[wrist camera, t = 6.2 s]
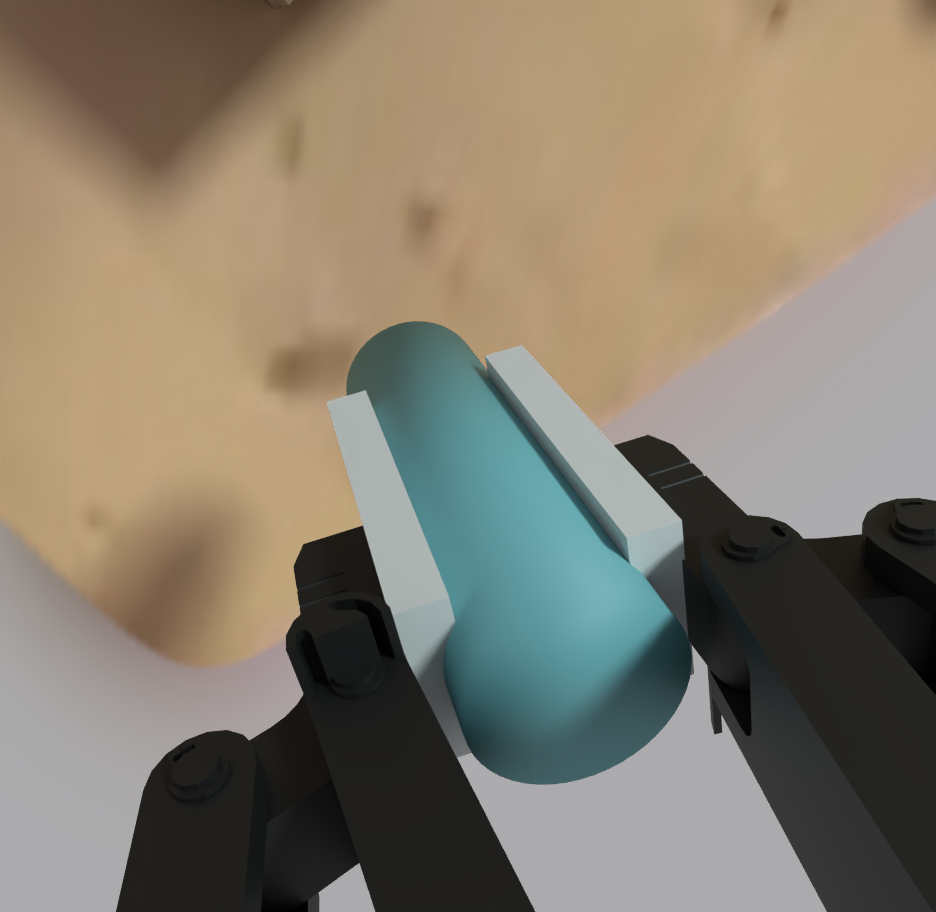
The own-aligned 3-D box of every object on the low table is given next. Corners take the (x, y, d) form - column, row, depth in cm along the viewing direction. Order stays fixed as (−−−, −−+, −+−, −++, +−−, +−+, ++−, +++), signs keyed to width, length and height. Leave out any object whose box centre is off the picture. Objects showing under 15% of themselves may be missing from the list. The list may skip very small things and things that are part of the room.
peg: (317, 390, 19) (409, 718, 10) (416, 292, 18) (601, 546, 10) (411, 471, 20) (561, 816, 11) (505, 382, 20) (733, 671, 11)
